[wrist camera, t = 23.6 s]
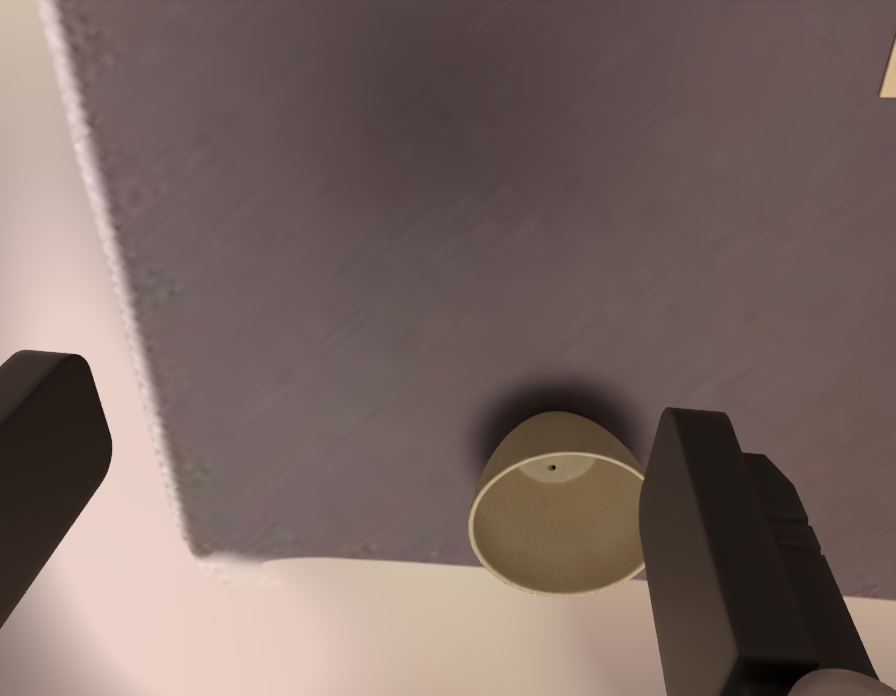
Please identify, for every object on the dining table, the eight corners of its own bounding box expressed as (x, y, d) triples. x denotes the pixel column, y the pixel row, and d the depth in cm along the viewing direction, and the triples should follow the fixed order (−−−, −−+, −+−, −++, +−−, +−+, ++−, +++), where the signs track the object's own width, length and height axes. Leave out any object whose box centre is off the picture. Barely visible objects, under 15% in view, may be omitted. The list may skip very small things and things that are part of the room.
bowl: (482, 514, 45) (480, 604, 39) (461, 382, 40) (455, 461, 34) (641, 503, 44) (666, 594, 38) (639, 366, 39) (667, 444, 33)
